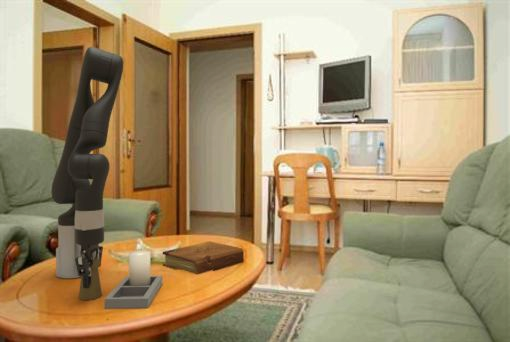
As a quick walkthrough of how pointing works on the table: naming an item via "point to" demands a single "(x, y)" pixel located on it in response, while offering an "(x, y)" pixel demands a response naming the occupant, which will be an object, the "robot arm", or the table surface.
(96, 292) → the cork
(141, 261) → the cylinder
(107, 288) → the table surface
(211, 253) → the diary
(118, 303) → the tray
